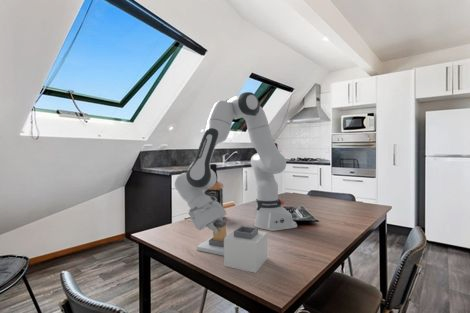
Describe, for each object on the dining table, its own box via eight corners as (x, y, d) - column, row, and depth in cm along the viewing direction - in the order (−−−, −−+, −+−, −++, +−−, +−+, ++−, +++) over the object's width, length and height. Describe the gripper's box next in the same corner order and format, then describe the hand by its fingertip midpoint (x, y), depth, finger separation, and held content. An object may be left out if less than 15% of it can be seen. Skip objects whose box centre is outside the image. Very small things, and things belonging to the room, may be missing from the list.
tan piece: (218, 238, 111) (217, 220, 110) (226, 240, 109) (226, 221, 108) (213, 241, 107) (213, 222, 107) (221, 243, 105) (221, 224, 105)
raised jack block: (238, 253, 101) (238, 223, 101) (267, 258, 96) (267, 227, 96) (224, 265, 91) (223, 232, 90) (255, 272, 85) (255, 237, 85)
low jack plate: (213, 238, 117) (213, 231, 117) (241, 243, 111) (241, 235, 111) (196, 250, 105) (196, 241, 104) (227, 256, 99) (226, 247, 98)
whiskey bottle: (224, 216, 154) (223, 163, 153) (220, 221, 145) (219, 164, 143) (207, 215, 156) (206, 163, 155) (202, 220, 147) (202, 164, 145)
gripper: (191, 205, 101) (213, 233, 97) (216, 196, 119) (236, 219, 115) (182, 215, 103) (203, 243, 99) (208, 204, 121) (227, 227, 118)
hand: (221, 230), depth 107 cm, fingers open, 4 cm apart
